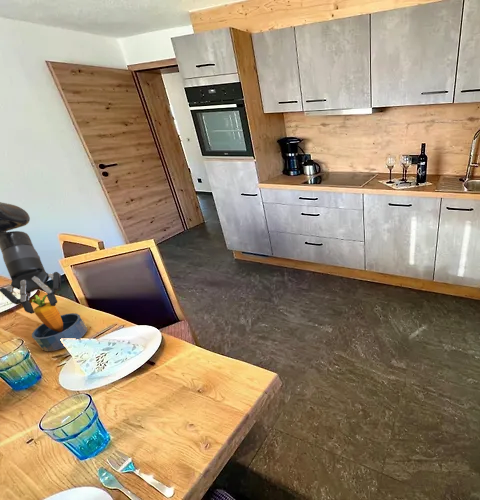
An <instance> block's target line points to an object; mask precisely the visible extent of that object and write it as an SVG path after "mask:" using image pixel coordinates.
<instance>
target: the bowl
mask: <svg viewBox="0 0 480 500" xmlns="http://www.w3.org/2000/svg"><path fill="white" fill-rule="evenodd" d="M60 316H61V318H62V321H63V331H62V332H57V331H54V330H52V329H50V328H49V327H47V326H46V325H45V324H44V323H43V322H42V324H40V325H38V326H37V327H36V328H35V329H34V330H33V331H32V333H31V338H32V339H33V341H34V342H35V343H36V344H37V346H38V347H39V348H40V349H41V351H44V352H53V351H59V350H61V349H65V348H66V347H64V346H63V344H62V343H61V341H60V339H61V338H76V339H79V340H81V338H83V337H84V335H85V334H86V333H87V331H88V326H87V324H86V322H85V321H84V320H83V317H82V316H81V315H80V314H78V313H76V312H75V313H74V312H72V313H64V314H60Z"/></svg>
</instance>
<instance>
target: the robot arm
mask: <svg viewBox="0 0 480 500" xmlns="http://www.w3.org/2000/svg"><path fill="white" fill-rule="evenodd" d="M30 220H31V218H30V215H29V213H28V212H27V211H26V210H25V209H24V208H23V207H20V206H18V205H15V204H12V203H7V202H1V201H0V251H1V254H2V260H3V262H4V264H5V268H6V269H7V272H8V274H9V276H10V279H11V283H10V285H8V286H6V287H1V288H0V293H1V294H2V295H3V296H4V297H6V299H7V300H8V301H9V302H10V303H12V304H14V305H16V306H17V305H22V307H23V310H24V312H26V313H27V314H31V315H32V314H35V312H34V308H33V304H32V303H31V302H30V298H31V296H32V295H31V293H33V292H35V291H38V290H43V291H44V292H45V293H46V295H47V297H46V298H47V300H48V302H50V304H51V305H52V306H55V307H56V306H57V304H58V299H57V297H56V293H57V292H60V291H61V290H62V275H61V273H59V272H58V271H55V272H52V273H48V272H46V270H45V267H44V265H43V263H42V260H41V257H40V255H39V253H38V252H37V250H36V249H35V246H34V245H33V242H32V239H31V237H30V236H29V234H28V233H27V232H25V231H21V230H15V229H19V228H22V227H25V226H27V225H28V224H29V223H30ZM12 230H13V231H12ZM14 230H15V231H14ZM49 279H51V280H52V288H50V287H49V286H48V285H47V284H48V282H49ZM14 289H16V290H19V295H20V298H17V297H16V295H14V293H15V291H14Z"/></svg>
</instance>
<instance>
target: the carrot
mask: <svg viewBox="0 0 480 500" xmlns="http://www.w3.org/2000/svg"><path fill="white" fill-rule="evenodd" d="M33 297H34V298H32V299H31V302H32V303H33V304H35V305H36V307H34V308H33V310H34V312H35V313H34V314H35V315H36V317H37V318H38V319H39V321H40V322H41V323H42V324H43V323H44V324H45V325H46V326H47V327H49V328H50V329H52V330H54V331H57V332H62V331H63V321H62V318H61V316H60V315H61V314H60V312H59V309H58V308H57V307H56V305H55V306H52V305H51V304H50V302H49V301H48V302H45V301H46V299H47V298H48V297H47V294H45V295H43V297H42V299H41V297H40V296H38V294H35V295H34V296H33Z"/></svg>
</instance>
